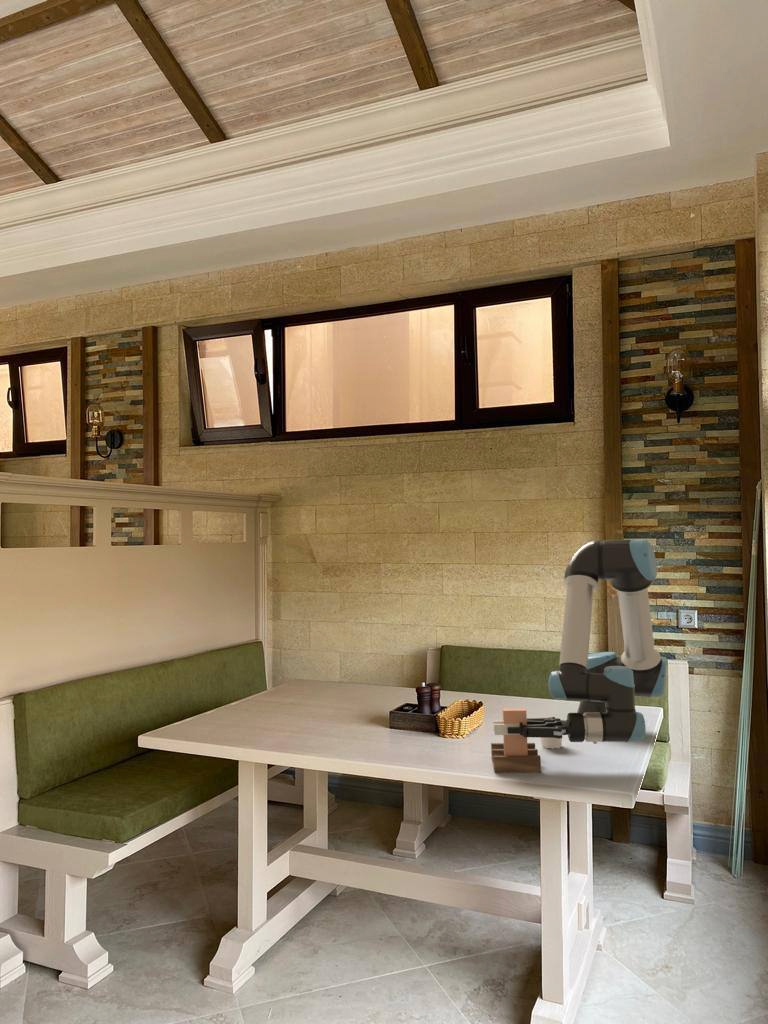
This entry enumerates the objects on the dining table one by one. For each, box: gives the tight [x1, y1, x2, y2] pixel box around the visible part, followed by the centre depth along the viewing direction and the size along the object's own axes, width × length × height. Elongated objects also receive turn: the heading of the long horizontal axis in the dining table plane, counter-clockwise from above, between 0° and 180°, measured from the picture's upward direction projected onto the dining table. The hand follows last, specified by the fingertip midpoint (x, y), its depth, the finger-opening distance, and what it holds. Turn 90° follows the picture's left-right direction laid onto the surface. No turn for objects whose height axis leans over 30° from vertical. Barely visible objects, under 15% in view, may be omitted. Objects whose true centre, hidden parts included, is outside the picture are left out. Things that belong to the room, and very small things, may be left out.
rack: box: [490, 742, 542, 773], centre depth 211 cm, size 14×12×4 cm
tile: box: [502, 707, 528, 756], centre depth 208 cm, size 3×6×12 cm, turn 85°
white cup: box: [540, 737, 563, 750], centre depth 228 cm, size 7×7×7 cm
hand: (494, 727), depth 209 cm, fingers closed on tile, 3 cm apart
